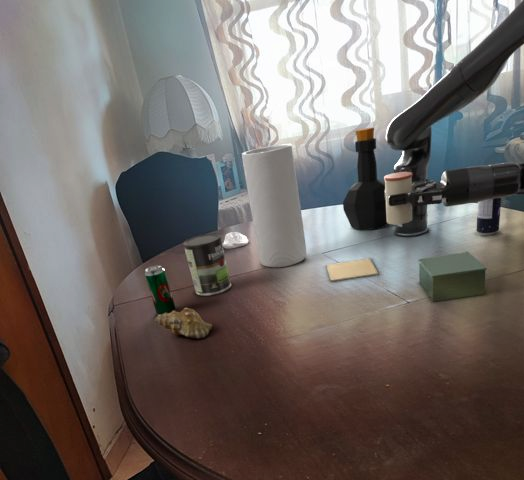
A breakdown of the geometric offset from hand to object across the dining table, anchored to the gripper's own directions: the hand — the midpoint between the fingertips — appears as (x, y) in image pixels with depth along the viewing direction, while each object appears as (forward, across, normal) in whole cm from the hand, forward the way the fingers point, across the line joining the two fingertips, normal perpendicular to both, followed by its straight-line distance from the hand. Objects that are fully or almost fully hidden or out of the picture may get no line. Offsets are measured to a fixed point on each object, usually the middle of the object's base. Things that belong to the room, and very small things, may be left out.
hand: (387, 197), depth 103 cm
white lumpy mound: (+47, -51, +20) cm, 72 cm away
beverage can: (-30, -26, +20) cm, 45 cm away
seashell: (+48, +17, +20) cm, 55 cm away
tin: (-12, +9, +20) cm, 25 cm away
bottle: (0, -51, +20) cm, 55 cm away
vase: (+28, -26, +20) cm, 43 cm away
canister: (-2, 0, +6) cm, 6 cm away
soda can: (+57, +3, +20) cm, 60 cm away
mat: (+9, -11, +20) cm, 24 cm away
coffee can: (+47, -10, +20) cm, 52 cm away
